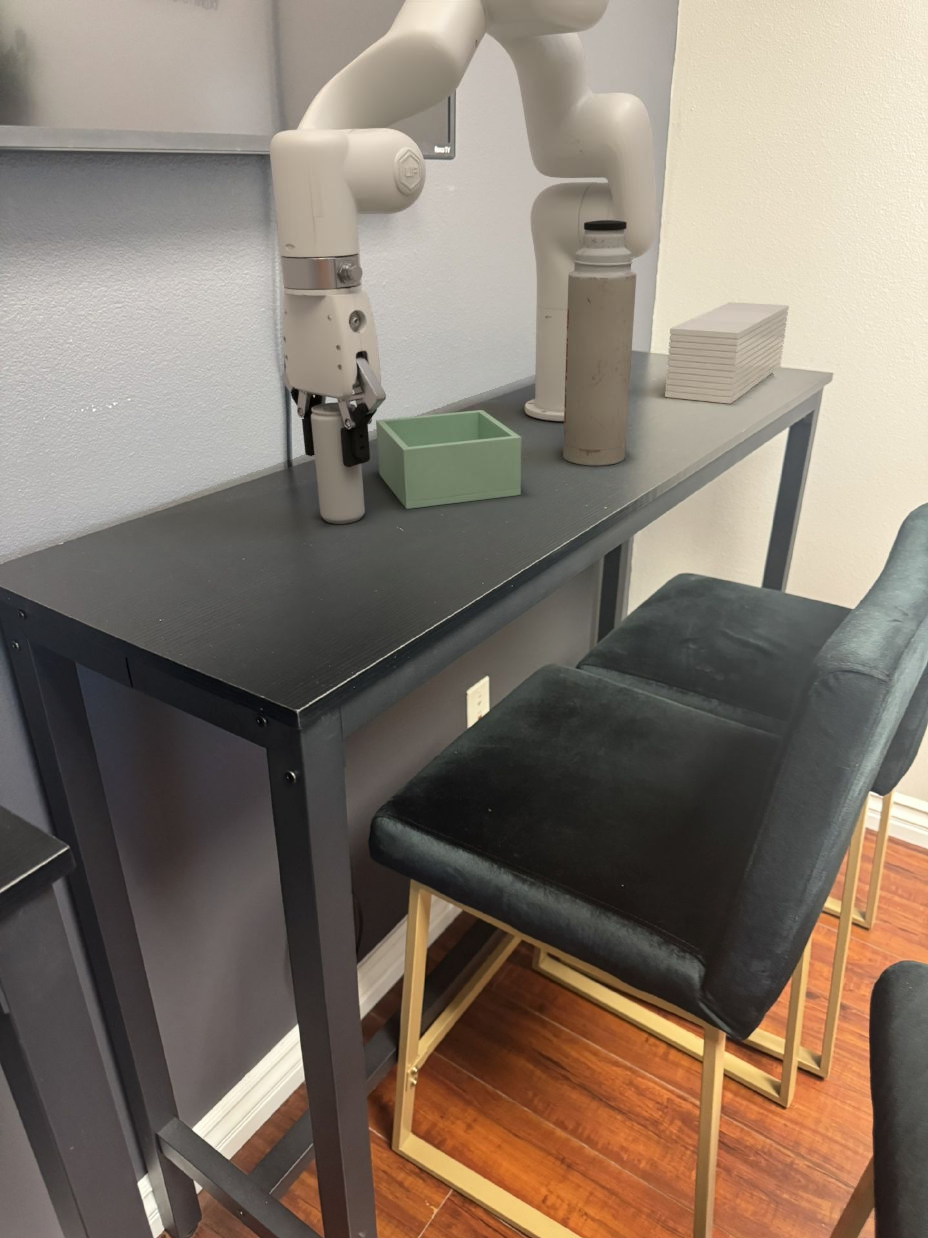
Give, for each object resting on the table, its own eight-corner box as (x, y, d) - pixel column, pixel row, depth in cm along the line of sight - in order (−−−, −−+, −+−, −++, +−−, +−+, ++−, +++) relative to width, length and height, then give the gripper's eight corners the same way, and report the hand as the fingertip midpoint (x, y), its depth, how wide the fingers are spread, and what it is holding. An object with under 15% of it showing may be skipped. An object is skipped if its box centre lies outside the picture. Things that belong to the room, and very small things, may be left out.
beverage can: (323, 527, 95) (313, 414, 89) (318, 512, 99) (307, 404, 94) (368, 522, 96) (360, 410, 91) (361, 507, 100) (353, 400, 95)
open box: (379, 474, 111) (375, 419, 108) (483, 462, 115) (482, 409, 112) (406, 509, 100) (403, 449, 96) (520, 495, 103) (521, 436, 100)
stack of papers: (730, 403, 140) (738, 332, 135) (664, 397, 145) (670, 327, 140) (780, 366, 164) (788, 305, 159) (722, 361, 169) (729, 302, 164)
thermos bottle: (552, 460, 115) (558, 222, 102) (577, 445, 121) (586, 218, 108) (611, 469, 111) (625, 222, 99) (634, 452, 117) (649, 218, 105)
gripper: (412, 276, 84) (420, 465, 92) (297, 267, 94) (313, 437, 102) (351, 284, 79) (365, 483, 87) (237, 273, 89) (259, 451, 97)
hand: (337, 456), depth 94 cm, fingers open, 5 cm apart
